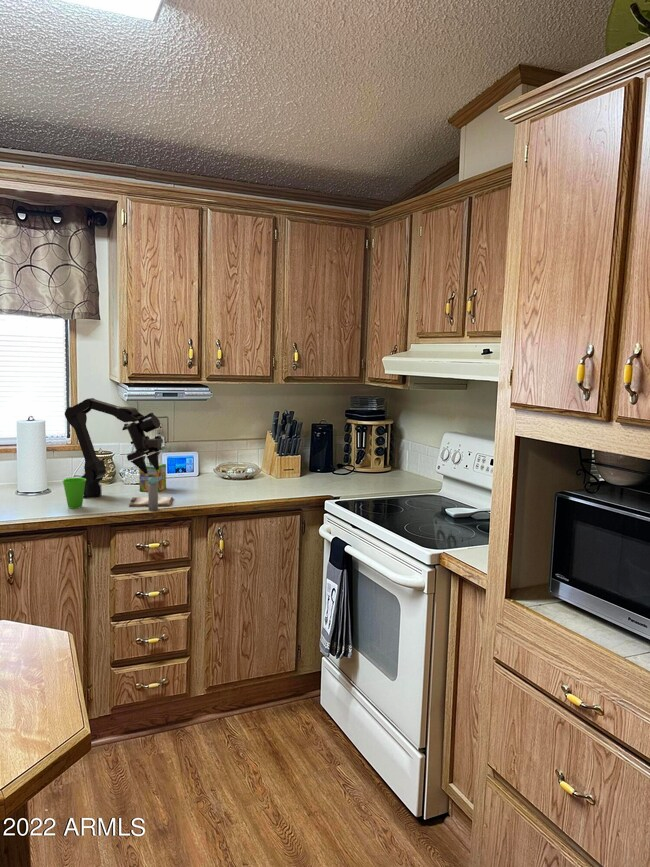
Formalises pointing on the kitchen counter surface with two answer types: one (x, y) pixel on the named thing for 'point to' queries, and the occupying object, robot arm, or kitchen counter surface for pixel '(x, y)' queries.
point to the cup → (74, 491)
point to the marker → (153, 493)
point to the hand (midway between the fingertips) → (152, 471)
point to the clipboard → (145, 501)
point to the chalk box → (153, 473)
